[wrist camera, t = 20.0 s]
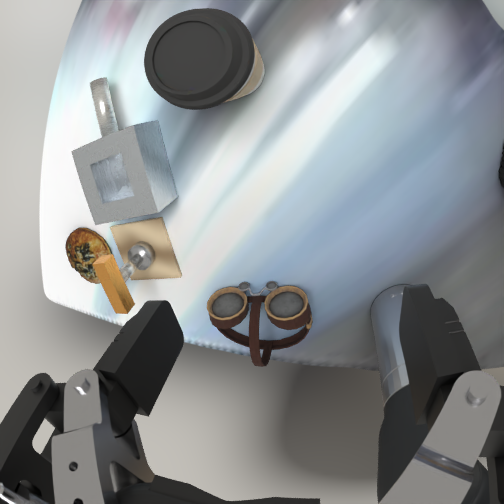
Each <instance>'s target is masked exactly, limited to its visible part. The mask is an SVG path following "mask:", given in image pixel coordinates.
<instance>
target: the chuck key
mask: <svg viewBox="0 0 504 504" xmlns="http://www.w3.org/2000/svg"><path fill="white" fill-rule="evenodd" d="M155 257H156V254H155V251H154V249H153V247H152V246H151V245H150V244H149V243H147V242H144V241H139V242H137V243H136V244H135V245H134V246H133V247H132V248H131V249H129V251H128V260H129V261H128V262H127V263H126V264H125V265H124V266H123V267H122V268H121V269H120V270H119V268H118V265H117V263H116V261H115V258H114V256H113V254H112V255H103V256H101V257H99V258H98V259H97V260H96V261H95V262H94V263H93V264H92V265H93V267H94V269H95V271H96V273H97V276H98V278H99V280H100V282H101V284H102V286H103V288H104V291H105V293H106V295H107V297H108V299H109V301H110V303H111V305H112V307H113V309H114V311H115V312H116V313H121V314H128V312H129V311H130V310H131V308H132V307H133V306H134V305H135V303H134V301H133V299H132V297H131V295H130V293H129V290H128V288H127V286H126V284H125V282H126V281H127V280H128V279H129V278H130V276H131V275H132V274H133V273H134V272H135V271H136V270H137V269H139V270H146V269H147V268H148V267H149V266H150V265H151V264H152V263H153V261H154V260H155Z"/></svg>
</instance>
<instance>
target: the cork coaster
mask: <svg viewBox="0 0 504 504" xmlns="http://www.w3.org/2000/svg"><path fill="white" fill-rule="evenodd" d="M110 229H111V232H112V234H113V237H114V239H115V242H116V245H117V247H118V250H119V252H120V255H121V257H122V259H123V262H124V264H126V263H127V262H128V261H129V260H128V251H129V249H131V248H132V247H133V246H134V245H135V244H136V243H137V242H139V241H144V242H147V243H149V244H150V245H151V246H152V247H153V249H154V251H155V254H156V257H155V260H154V261H153V263H152V264H151V265H150V266H149V267H148V268H147V269H146V270H139V269H137V270H136V271H135V272H134V273H133V274H132V275H131V276H130V278H131V280H145V279H164V278H181V276H182V274H181V271H180V268H179V265H178V263H177V260H176V257H175V254H174V251H173V248H172V245H171V242H170V239H169V236H168V233H167V230H166V227H165V224H164V221H163V218H162V217H158V218H153V219H147V220H141V221H136V222H130V223H125V224H120V225H114V226H111V227H110Z"/></svg>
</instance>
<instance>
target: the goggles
mask: <svg viewBox="0 0 504 504" xmlns="http://www.w3.org/2000/svg"><path fill="white" fill-rule="evenodd" d="M247 290H249V291H250V294H251V296H246V294H245V293H244V291H247ZM264 290H269V291H271V292H270V293H269V294H268V295H267V296H260V294H261V293H262V292H263V291H264ZM250 302H252V305H251V311H250V321H249V337H247V336H245V335H242V334H239V333H237V332H236V331H234V330H232V329H231V328H232V327H234V326H236V325H238V324H239V323H241V322H242V320H243V319H244V318H245V317H246V315H247V313H248V311H249V304H248V303H250ZM262 302H264V303H265V310H266V311H267V315H268V318H269V319H270V321H271V323H272V324H274V325H275V326H277V327H278V328H282V329H286V330H292V329H298V328H300V327H302V326H304V325H305V324H306V326H305V327H304V329H302V330H301V331H300V332H299V333H297V334H295V335H293V336H291V337H288V338H284V339H281V340H273V341H266V340H259V318H260V309H261V303H262ZM207 310H208V312H209V316H210V320H211V322H212V324H213V325H214V326H215V327H217V329H218V330H219V331H220V332H221V333H222V334H223V335H224V336H226V337H227V338H229V339H230V340H232V341H234V342H236V343H238V344H241V345H243V346H246V347H250V354H251V358H252V362H253V363H254V365H255V366H266V365H267V364H268V362H269V360H270V356H271V351H272V350H276V349H283V348H287V347H291V346H293V345H295V344H298V343H299V342H300V341H302V340H303V339H304V338H305V337H306V335H307V333H308V332H309V329H310V328H311V326H312V315H311V310H310V306H309V303H308V299H307V295H306V294H305V293H304V291H303V290H301V289H299V288H297V287H295V286H283V287H279V288H277V283H276V282H274V281H270V282H268V283H267V285H266V287H264V288H263V289H262V290H261V291H260V293H257V294H253V293H252V292H251V289H250V286H249V284H248V283H247V282H242V283H240V284H239V288H234V287H227V288H223V289H220V290H218V291H216V292H215V293H214V294H213V295H212V296H211V297H210V298H209V300H208V302H207ZM260 349H263V354H262V358H261V356H260Z"/></svg>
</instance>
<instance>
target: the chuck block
mask: <svg viewBox="0 0 504 504" xmlns="http://www.w3.org/2000/svg"><path fill="white" fill-rule="evenodd" d="M90 87H91V92H92V97H93V102H94V106H95V111H96V115H97V119H98V123H99V127H100V131H101V135H102V138H100V139H98V140H96V141H93V142H91V143H89V144H86V145H84V146H82V147H80V148H78V149H76V150H73V151H72V155H73V158H74V162H75V165H76V169H77V172H78V175H79V179H80V182H81V185H82V188H83V191H84V194H85V197H86V200H87V203H88V206H89V209H90V212H91V214H92V217H93V220H94V222H95V225H98V224H103V223H108V222H113V221H118V220H123V219H128V218H133V217H138V216H143V215H149V214H154V213H159V212H160V211H161V210H162V209H164V208H165V207H166V206H167V205H168V204H170V203H171V202H172V201H173V200H175V199H176V198H177V197H178V194H177V191H176V187H175V183H174V180H173V176H172V173H171V169H170V165H169V162H168V158H167V154H166V150H165V146H164V143H163V139H162V135H161V131H160V127H159V123H158V120H156V121H151V122H146V123H141V124H137V125H133V126H130V127H127V128H125V129H122V130H120V131H119V129H118V125H117V121H116V117H115V113H114V108H113V104H112V100H111V95H110V90H109V86H108V81H107V78H100V79H97V80H94V81H92V82H91V83H90Z"/></svg>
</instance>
